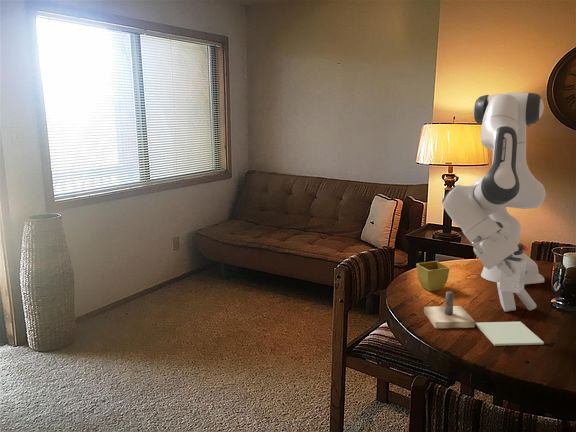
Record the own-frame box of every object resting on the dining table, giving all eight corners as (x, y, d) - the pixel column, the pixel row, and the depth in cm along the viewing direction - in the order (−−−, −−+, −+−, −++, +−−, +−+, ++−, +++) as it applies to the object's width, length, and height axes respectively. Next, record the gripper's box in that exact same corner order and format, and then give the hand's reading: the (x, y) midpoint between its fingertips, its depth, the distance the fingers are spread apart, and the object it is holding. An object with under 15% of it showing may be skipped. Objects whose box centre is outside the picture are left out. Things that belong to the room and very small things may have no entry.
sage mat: (520, 323, 158) (520, 321, 157) (543, 344, 144) (543, 342, 144) (475, 324, 157) (475, 322, 157) (494, 345, 143) (494, 343, 143)
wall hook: (540, 313, 163) (535, 284, 162) (506, 318, 166) (500, 289, 164) (534, 303, 171) (528, 275, 169) (501, 308, 173) (496, 281, 172)
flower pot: (427, 294, 182) (428, 270, 180) (414, 286, 190) (415, 263, 188) (448, 291, 184) (450, 267, 182) (435, 283, 193) (436, 260, 191)
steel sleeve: (499, 289, 147) (501, 259, 145) (505, 284, 151) (507, 255, 149) (518, 293, 144) (521, 262, 142) (523, 288, 148) (526, 258, 146)
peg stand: (460, 311, 167) (462, 285, 165) (474, 327, 155) (476, 299, 153) (423, 312, 167) (425, 286, 165) (435, 328, 155) (436, 300, 153)
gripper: (478, 234, 140) (512, 275, 136) (503, 221, 156) (534, 258, 152) (461, 247, 144) (494, 288, 140) (487, 233, 159) (517, 269, 155)
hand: (515, 272), depth 146 cm, fingers closed on steel sleeve, 5 cm apart
